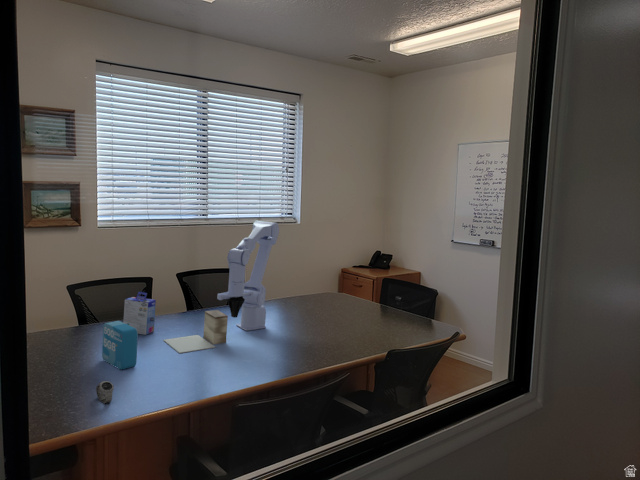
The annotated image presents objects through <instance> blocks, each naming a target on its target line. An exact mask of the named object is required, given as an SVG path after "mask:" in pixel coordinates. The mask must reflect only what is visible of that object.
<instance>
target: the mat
mask: <svg viewBox="0 0 640 480" xmlns="http://www.w3.org/2000/svg"><path fill="white" fill-rule="evenodd" d="M163 342H164V343H166V344H167V345H168V346H169V347H171V348H172V349H173V350H174V351H176V352H177V353H178V354H184V353H185V354H186V353H191V352H195V351H203V350H208V349H213V348H216V346H215V344H214V345H213V344H212V343H210V342H209V341H207V340H206V339H204V338H203V337H202V336H200V335H199V334H195V335H194V334H193V335H187V336H181V337H174V338H168V339H167V338H166V339H163Z"/></svg>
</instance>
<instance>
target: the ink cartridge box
mask: <svg viewBox="0 0 640 480" xmlns="http://www.w3.org/2000/svg"><path fill="white" fill-rule="evenodd" d="M142 295H144V296H142ZM147 296H148V293H147V292H145V291H144V292H143V291H138V292H137V295H136V297H135V296H131V297H128V298H125V299H124V307H123V308H124V309H123V323H125V324H127V325H129V326H131V327H134V328H136V330H137V332H138V335H144V336H145V335H146V336H147V335H150V334H152V333H154V332H155V319H156V303H157V302H156V301H157V300H156V299H154V298H153V299H151V298H147Z"/></svg>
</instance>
